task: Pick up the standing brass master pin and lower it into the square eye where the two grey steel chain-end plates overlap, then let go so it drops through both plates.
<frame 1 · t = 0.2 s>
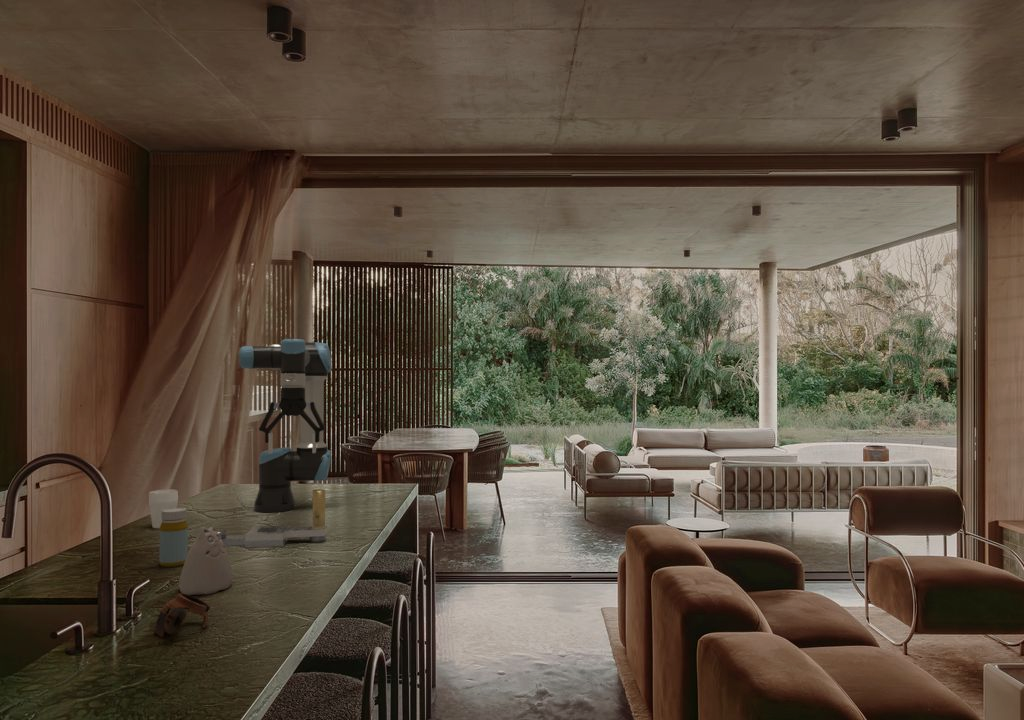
hand: (292, 453, 221), 27 cm above the kitchen island, fingers open, 13 cm apart
master pin: (318, 532, 227), on the kitchen island
bottle: (173, 564, 190), on the kitchen island
sculpture: (206, 588, 170), on the kitchen island
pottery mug: (179, 632, 141), on the kitchen island
cup: (163, 527, 236), on the kitchen island
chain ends: (267, 542, 214), on the kitchen island
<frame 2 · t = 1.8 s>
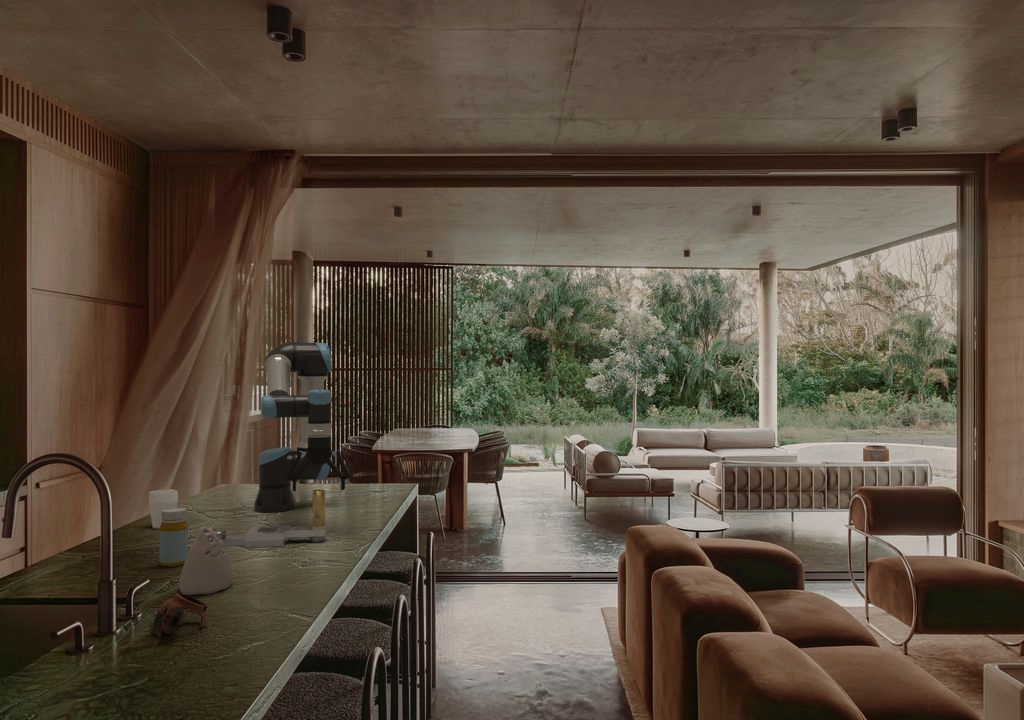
hand: (319, 500, 227), 11 cm above the kitchen island, fingers open, 13 cm apart
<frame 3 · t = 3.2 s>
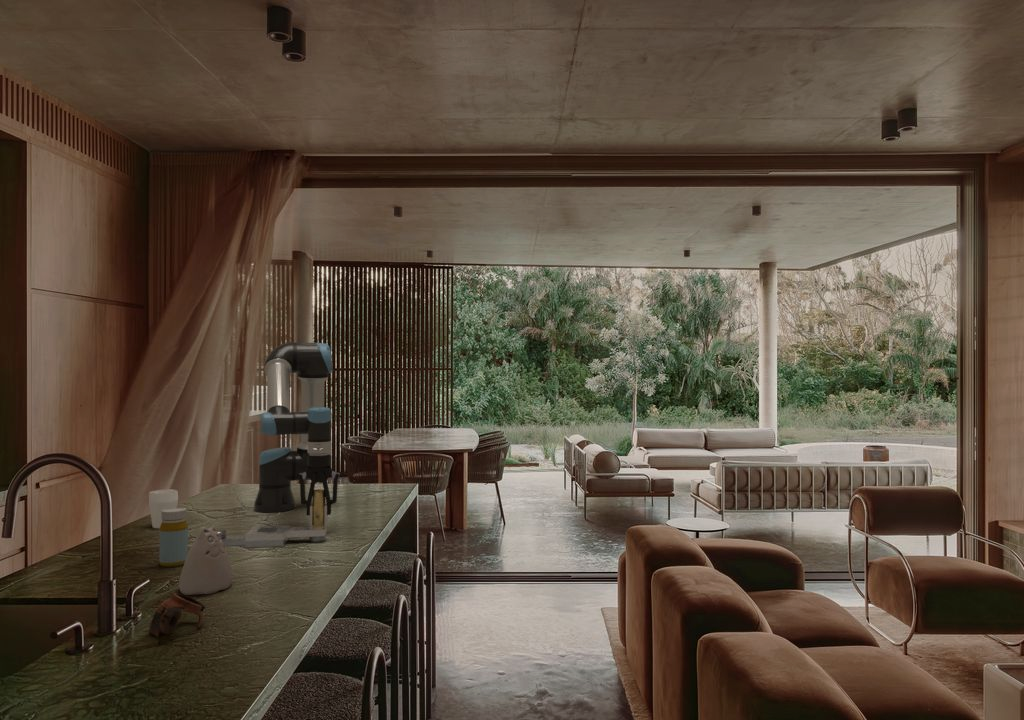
hand: (318, 524, 227), 3 cm above the kitchen island, fingers closed on master pin, 4 cm apart
master pin: (318, 532, 227), on the kitchen island, touching gripper
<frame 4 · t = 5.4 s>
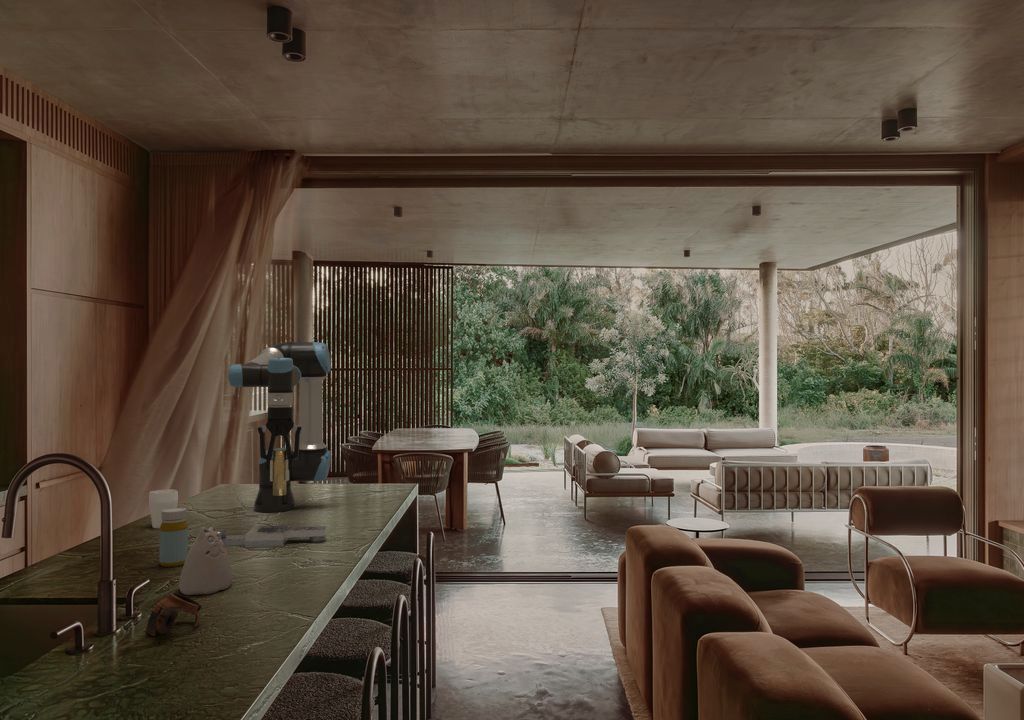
hand: (279, 480, 217), 19 cm above the kitchen island, fingers closed on master pin, 4 cm apart
master pin: (279, 494, 217), point 14 cm above the kitchen island, touching gripper
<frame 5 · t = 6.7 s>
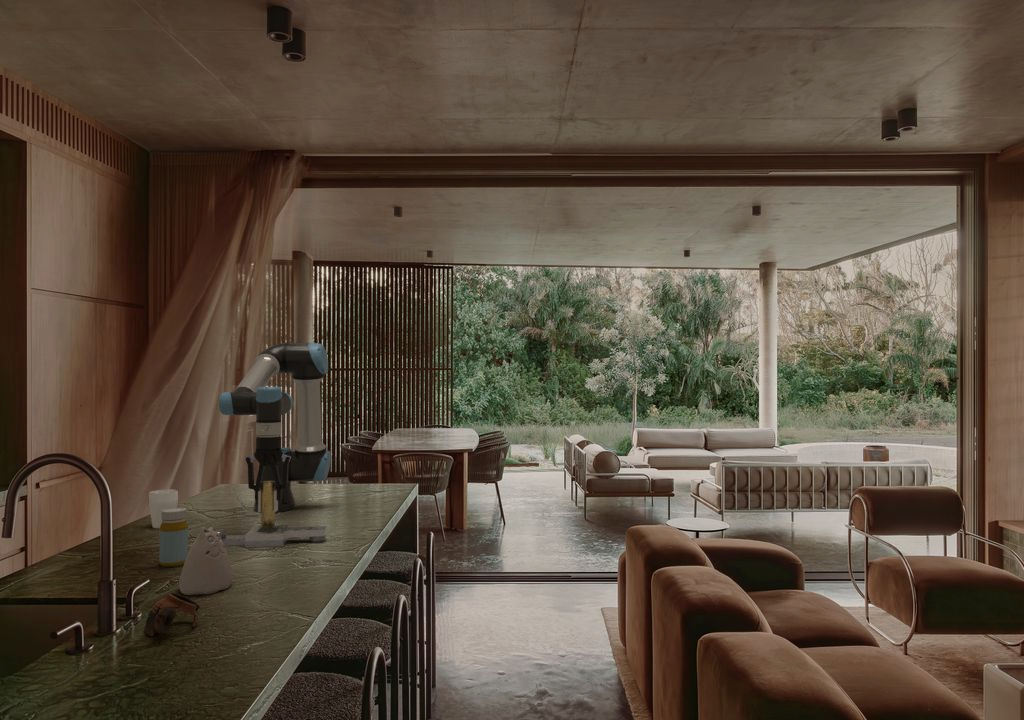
hand: (268, 510, 214), 10 cm above the kitchen island, fingers closed on master pin, 4 cm apart
master pin: (267, 526, 214), point 5 cm above the kitchen island, touching gripper
when the fingers open (5 cm above the kitchen island, at t = 7.8 s): master pin stays where it is, resting in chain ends.
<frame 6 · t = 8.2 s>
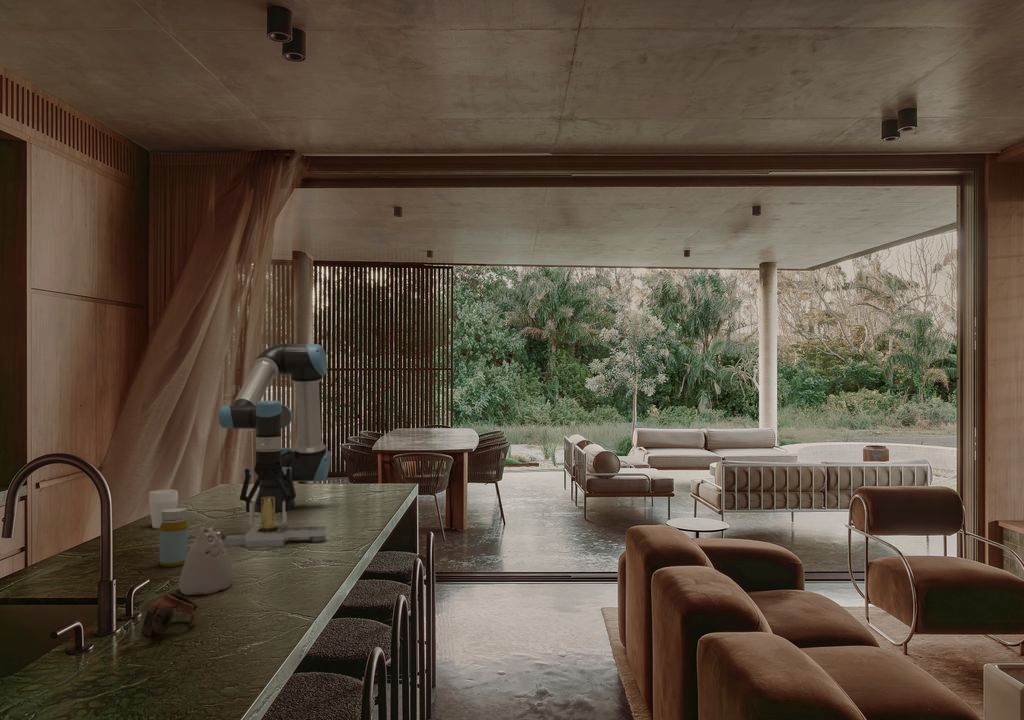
hand: (268, 522, 214), 6 cm above the kitchen island, fingers open, 9 cm apart
master pin: (267, 542, 214), resting in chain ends
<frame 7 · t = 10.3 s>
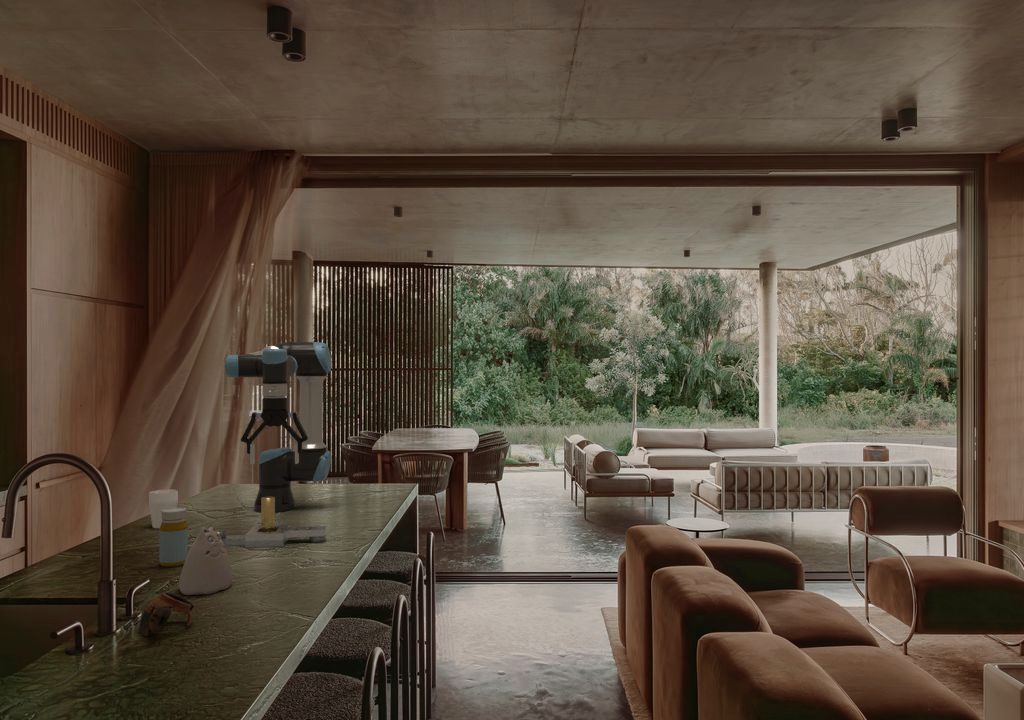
hand: (274, 463, 219), 24 cm above the kitchen island, fingers open, 13 cm apart
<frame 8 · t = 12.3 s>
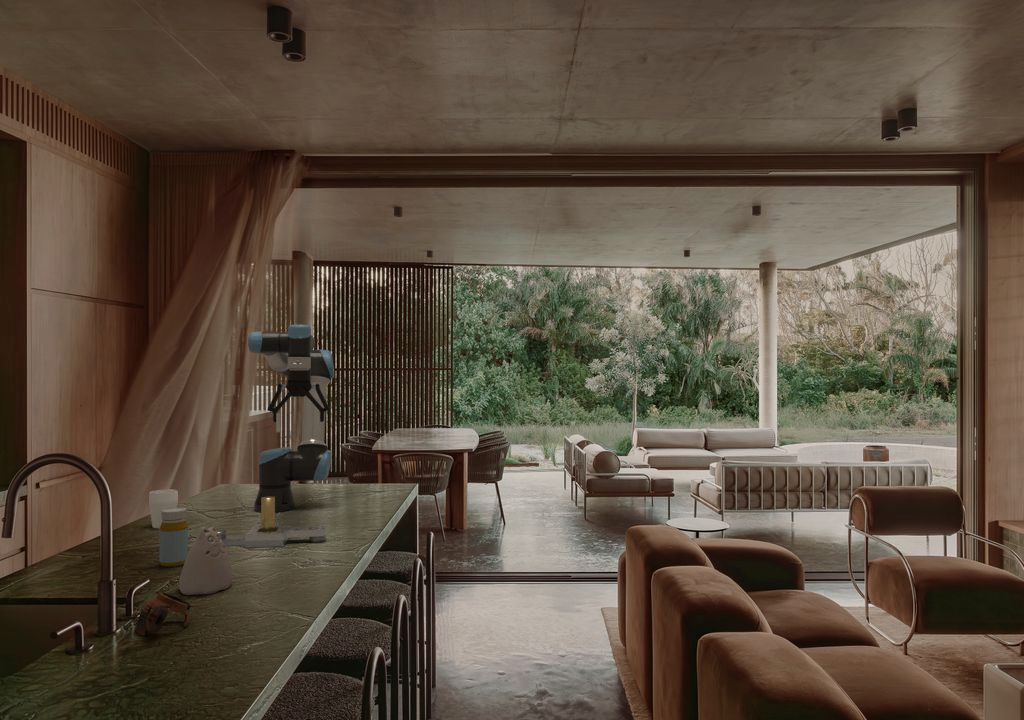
hand: (298, 431, 235), 33 cm above the kitchen island, fingers open, 13 cm apart
at the end: master pin 0.0 cm off-centre on the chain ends, point 0.0 cm above the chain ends's base; master pin tilted 0°; the gripper is holding nothing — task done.
